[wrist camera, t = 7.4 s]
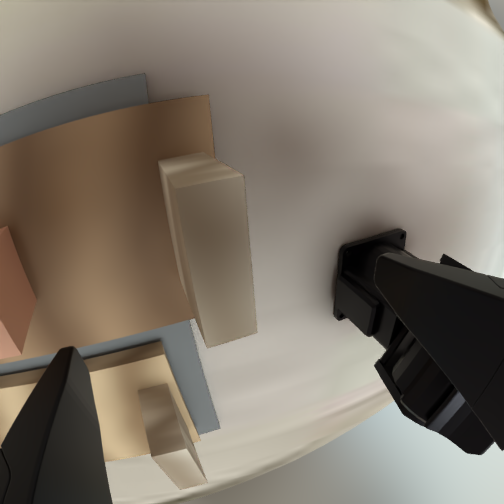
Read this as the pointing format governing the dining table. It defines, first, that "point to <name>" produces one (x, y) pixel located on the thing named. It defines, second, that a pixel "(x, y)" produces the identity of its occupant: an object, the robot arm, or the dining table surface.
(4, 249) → the block
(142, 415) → the tan piece
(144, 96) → the lane mat
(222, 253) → the darker brown strip
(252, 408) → the dining table surface
